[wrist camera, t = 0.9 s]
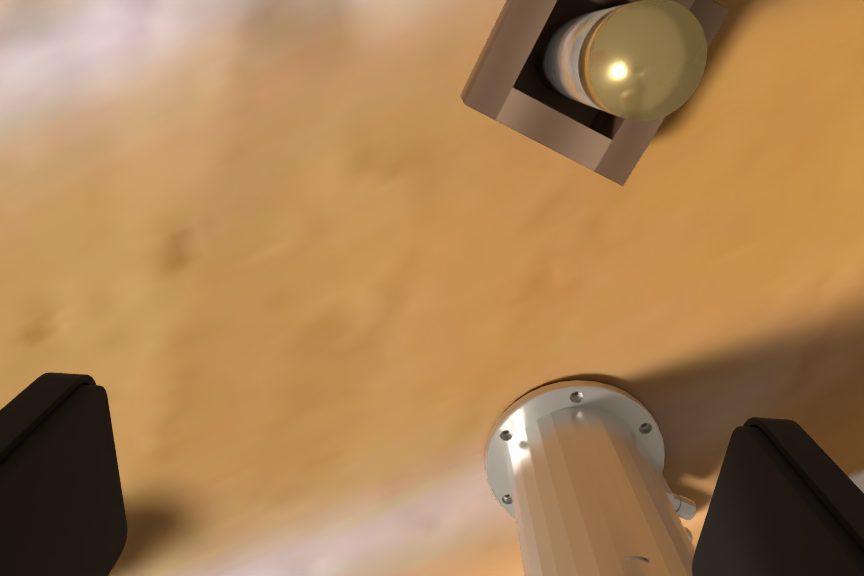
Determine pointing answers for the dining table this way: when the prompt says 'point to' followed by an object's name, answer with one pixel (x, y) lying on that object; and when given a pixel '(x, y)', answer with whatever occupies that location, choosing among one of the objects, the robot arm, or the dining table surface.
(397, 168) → the dining table surface
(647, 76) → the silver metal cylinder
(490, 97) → the holder block
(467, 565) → the dining table surface
